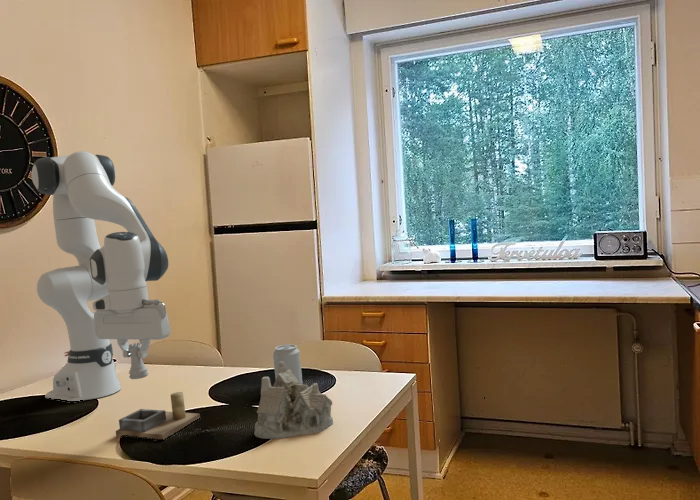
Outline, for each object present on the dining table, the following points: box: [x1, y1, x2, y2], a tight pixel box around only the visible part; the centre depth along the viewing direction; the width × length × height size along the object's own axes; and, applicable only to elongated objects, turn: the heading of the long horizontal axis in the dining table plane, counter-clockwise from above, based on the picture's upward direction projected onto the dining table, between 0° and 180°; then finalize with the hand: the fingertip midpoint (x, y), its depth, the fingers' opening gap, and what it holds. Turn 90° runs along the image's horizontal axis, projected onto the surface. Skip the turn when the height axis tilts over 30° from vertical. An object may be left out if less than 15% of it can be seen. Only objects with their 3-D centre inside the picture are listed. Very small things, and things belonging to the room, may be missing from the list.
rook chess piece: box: [128, 342, 149, 380], centre depth 149 cm, size 4×4×8 cm
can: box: [272, 343, 304, 385], centre depth 176 cm, size 8×8×12 cm
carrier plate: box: [115, 391, 201, 440], centre depth 151 cm, size 14×14×8 cm
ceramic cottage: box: [253, 361, 334, 440], centre depth 144 cm, size 16×16×15 cm
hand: (135, 357), depth 149 cm, fingers closed on rook chess piece, 3 cm apart
